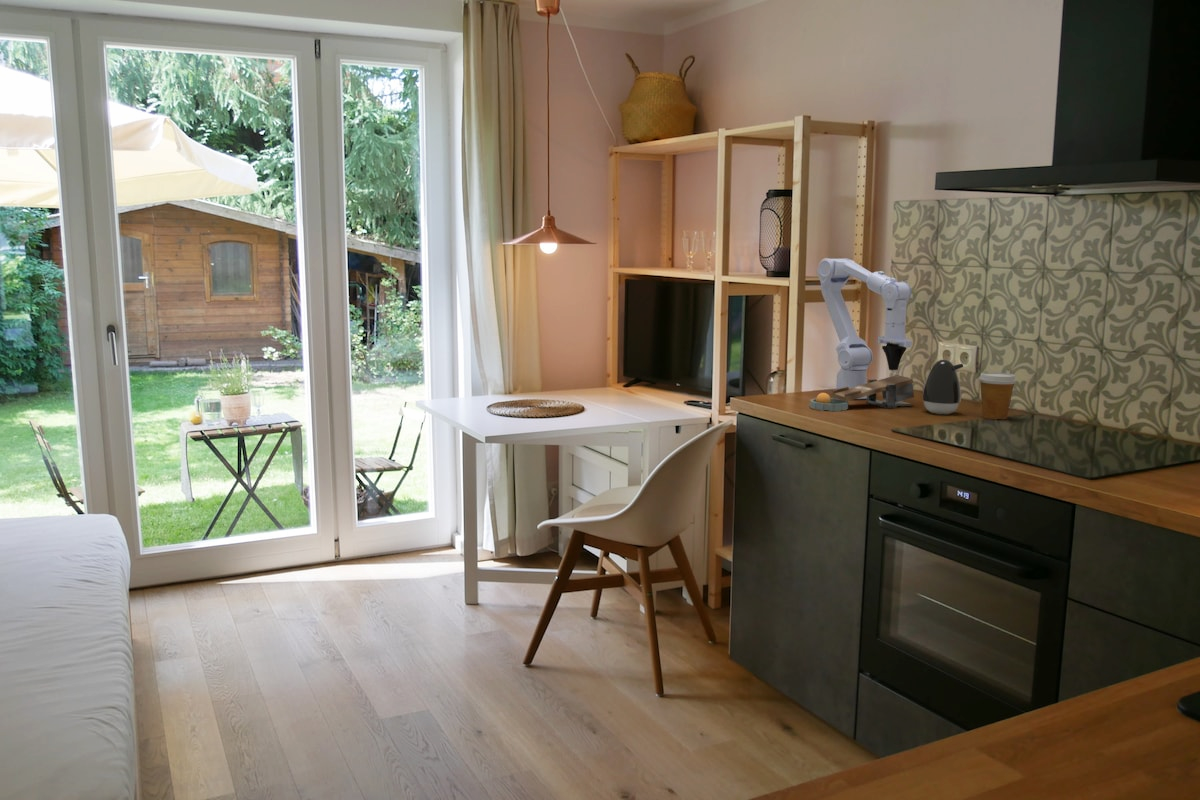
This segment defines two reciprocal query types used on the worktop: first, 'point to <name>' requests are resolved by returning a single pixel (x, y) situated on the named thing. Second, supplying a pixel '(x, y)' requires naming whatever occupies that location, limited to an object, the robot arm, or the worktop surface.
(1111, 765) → the worktop surface
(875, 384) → the lever
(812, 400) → the dish
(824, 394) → the ball
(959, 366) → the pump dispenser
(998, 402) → the disposable coffee cup
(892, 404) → the lever stand
